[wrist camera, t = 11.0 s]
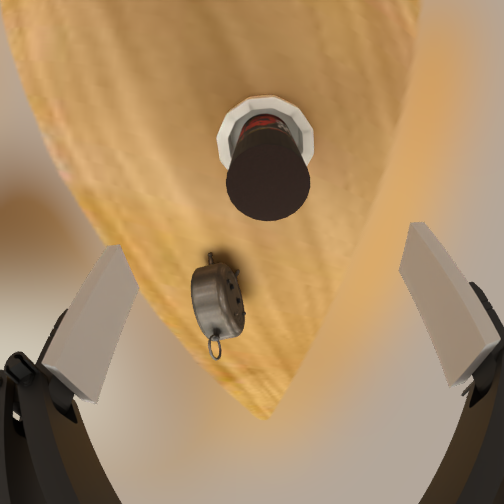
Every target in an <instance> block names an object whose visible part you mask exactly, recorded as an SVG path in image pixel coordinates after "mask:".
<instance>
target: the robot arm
mask: <svg viewBox="0 0 504 504" xmlns="http://www.w3.org/2000/svg"><path fill="white" fill-rule="evenodd" d="M399 272H400V274H401V276H402V278H403V280H404V282H405V284H406V285H407V288H408V290H409V292H410V294H411V296H412V298H413V300H414V302H415V304H416V306H417V308H418V310H419V313H420V315H421V317H422V319H423V322H424V324H425V326H426V328H427V331H428V333H429V335H430V338H431V340H432V343H433V345H434V348H435V350H436V353H437V355H438V358H439V360H440V363H441V366H442V369H443V371H444V374H445V377H446V379H447V383H448V386H449V388H451V387H454V386H457V385H460V384H462V383H465V382H466V380H467V379H468V378H469V377H470V376H471V375H472V376H473V379H474V381H473V382H472V383H471V384H470V385H469V386H468V387H467V388H466V389H465V390H464V391H463V393H462V396H464V395H465V394H466V393H467V392H468V391H469V393H468V396H467V399H466V402H465V405H464V408H463V412H462V414H461V417H460V420H459V422H458V425H457V428H456V430H455V433H454V435H453V438H452V440H451V442H450V445H449V447H448V450H447V451H446V454H445V456H444V458H443V460H442V462H441V464H440V466H439V468H438V470H437V472H436V474H435V476H434V478H433V480H432V482H431V484H430V485H429V487H428V489H427V490H426V492H425V494H424V495H423V497H422V499H421V501H420V502H419V504H504V327H503V325H502V323H501V321H500V319H499V318H498V316H497V314H496V312H495V311H494V310H493V309H492V308H493V307H492V306H491V304H490V302H488V299H487V297H486V296H485V294H484V293H483V291H482V290H481V289H480V288H479V287H478V286H477V285H476V284H475V283H474V282H469V283H468V281H467V280H466V278H465V277H464V275H463V274H462V273H461V271H460V269H459V268H458V267H457V265H456V263H455V262H454V261H453V259H452V258H451V256H450V255H449V254H448V252H447V251H446V250H445V248H444V247H443V246H442V244H441V243H440V242H439V240H438V239H437V238H436V236H435V235H434V234H433V233H432V231H431V230H430V229H429V228H428V226H427V225H426V224H425V223H424V222H414V223H410V227H409V231H408V236H407V240H406V244H405V248H404V252H403V256H402V260H401V264H400V268H399ZM138 290H139V286H138V284H137V282H136V280H135V278H134V275H133V273H132V271H131V269H130V267H129V264H128V262H127V260H126V258H125V255H124V253H123V251H122V248H121V246H120V245H112V246H107V247H106V248H105V250H104V251H103V253H102V254H101V256H100V257H99V259H98V260H97V262H96V264H95V265H94V267H93V268H92V270H91V271H90V273H89V275H88V276H87V278H86V280H85V281H84V283H83V284H82V286H81V288H80V290H79V291H78V293H77V295H76V297H75V298H74V300H73V302H72V304H71V305H70V307H69V309H66V310H65V311H64V312H63V313H62V314H61V316H60V317H59V318H58V320H57V322H56V324H55V325H54V329H53V330H52V331H51V333H50V337H48V339H47V341H46V343H45V345H44V347H43V349H42V352H41V354H40V356H39V358H38V360H37V362H36V364H34V363H33V362H32V361H31V360H30V359H29V358H28V357H27V356H26V355H25V354H24V353H23V352H16V353H14V354H12V355H11V356H10V357H9V358H8V360H7V361H6V364H5V366H4V370H0V504H122V503H121V501H120V500H119V498H118V496H117V494H116V493H115V491H114V489H113V487H112V485H111V483H110V482H109V480H108V478H107V476H106V474H105V472H104V470H103V468H102V466H101V464H100V462H99V459H98V457H97V455H96V453H95V450H94V448H93V446H92V443H91V441H90V439H89V436H88V434H87V431H86V429H85V426H84V423H83V420H82V418H81V415H80V412H79V409H78V406H77V404H76V402H75V400H73V397H74V394H75V395H77V396H78V397H79V398H80V399H81V400H83V401H86V402H90V403H94V404H97V402H98V399H99V395H100V392H101V389H102V386H103V382H104V380H105V376H106V374H107V371H108V368H109V365H110V362H111V359H112V356H113V354H114V351H115V348H116V345H117V343H118V340H119V337H120V335H121V332H122V329H123V327H124V324H125V322H126V319H127V317H128V314H129V312H130V309H131V307H132V304H133V302H134V299H135V297H136V295H137V293H138ZM13 411H14V412H15V413H17V414H18V415H19V416H20V420H19V421H18V420H16V419H15V418H13Z"/></svg>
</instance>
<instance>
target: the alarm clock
mask: <svg viewBox="0 0 504 504" xmlns="http://www.w3.org/2000/svg"><path fill="white" fill-rule="evenodd" d="M208 256H209V265H208V266H204V267H200V268H197V269H196V270H195V271H194V273H193V275H192V280H191V297H192V304H193V309H194V313H195V316H196V319H197V322H198V324H199V327H200V328H201V330H202V332H203V333H204V335H205V336H206V337H207V338H208V339H209V341H208V348H209V353H210V355H211V357H212V358H213V359H214V360H219V359H220V357H221V345H220V342H219V340H222V339H228V338H233V337H237V336H239V335H240V334H241V333H242V331H243V328H244V323H245V315H246V312H244V305H243V300H242V295H241V291H240V288H239V285H238V282H237V276H238V274H239V270H237V271H236V273H235V274H234V273H233V271H232V270H231V269H230V267H229V266H228V265H226V264H224V263H216V264H214V262H213V259H212V253H208ZM211 341H217V342H218V345H219V356H218V357H217V358H215V357H214V355H213V353H212V350H211Z"/></svg>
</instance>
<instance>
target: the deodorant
mask: <svg viewBox="0 0 504 504" xmlns="http://www.w3.org/2000/svg"><path fill="white" fill-rule="evenodd" d="M226 187H227V193H228V195H229V197H230V200H231V202H232V203H233V204H234V205H235V207H236V208H237V209H238V210H239V211H241V212H242V213H243V214H245V215H246V216H248V217H251V218H253V219H256V220H262V221H276V220H279V219H283V218H286V217H288V216H290V215H291V214H293V213H295V212H296V211H297V210H298V209H299V208H300V207H301V206H302V205H303V203H304V202H305V200H306V198H307V196H308V193H309V189H310V175H309V172H308V169H307V166H306V164H305V162H304V160H303V157H302V155H301V153H300V151H299V149H298V147H297V145H296V143H295V141H294V139H293V137H292V134H291V132H290V130H289V128H288V127H287V125H286V124H285V122H284V121H283V120H282V119H280V118H279V117H277V116H275V115H272V114H267V113H265V114H258V115H255V116H253V117H251V118H250V119H248V120H247V121H246V123H245V124H244V125H243V127H242V129H241V132H240V135H239V138H238V141H237V144H236V147H235V150H234V153H233V156H232V160H231V163H230V166H229V169H228V172H227V179H226Z"/></svg>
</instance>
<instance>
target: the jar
mask: <svg viewBox="0 0 504 504" xmlns="http://www.w3.org/2000/svg"><path fill="white" fill-rule="evenodd" d="M265 113H267V114H272V115H275V116H277V117H279V118H280V119H282V120H283V121H284V122H285V124H286V125H287V127H288V128H289V130H290V132H291V134H292V137H293V139H294V141H295V143H296V145H297V147H298V149H299V151H300V153H301V155H302V157H303V160H304V162H305V164H306V166H307V165H308V163H309V161H310V160H311V158H312V156H313V154H314V136H313V128H312V127H311V125H310V124H309V122H308V121H307V119H306V118H305V116H304V115H303V113H302V112H301V110H300V109H299V108H298V107H297V106H296V105H294V104H292V103H290V102H288V101H286V100H284V99H282V98H279V97H277V96H275V95H259V96H251V97H248V98H246V99H245V100H243V101H242V102H240V103H239V104H237V105H236V106H235V107H233V108H232V109H230V110H229V112H228V113H227V114H226V116H225V118H224V121H223V123H222V125H221V127H220V130H219V132H218V134H217V137H216V138H217V144H218V151H219V157H220V161H221V162H222V164H223V165H224V166H225V167H226V168H227V170H228V169H229V166H230V163H231V160H232V156H233V153H234V150H235V147H236V144H237V141H238V138H239V135H240V132H241V129H242V127H243V125H244V124H245V123H246V121H247V120H248V119H250V118H251V117H253V116H255V115H258V114H265Z"/></svg>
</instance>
